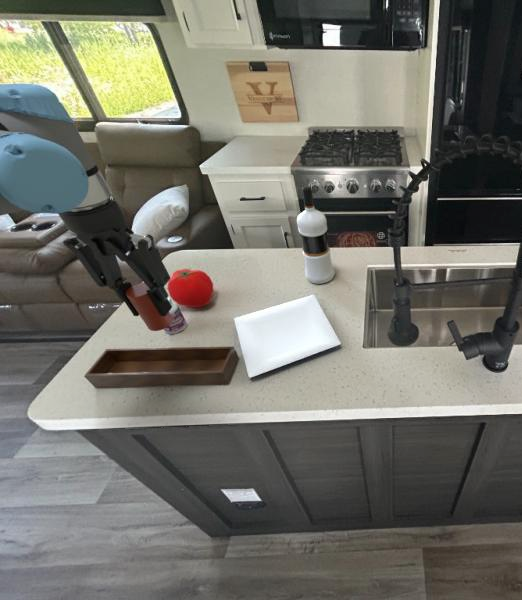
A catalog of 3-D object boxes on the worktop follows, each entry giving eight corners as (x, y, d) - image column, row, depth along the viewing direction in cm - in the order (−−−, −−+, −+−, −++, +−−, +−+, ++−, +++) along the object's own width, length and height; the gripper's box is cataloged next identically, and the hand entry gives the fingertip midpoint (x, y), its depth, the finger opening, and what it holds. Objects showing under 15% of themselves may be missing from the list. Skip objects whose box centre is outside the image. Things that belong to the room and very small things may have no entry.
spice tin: (150, 334, 66) (127, 300, 60) (145, 322, 69) (123, 288, 63) (175, 324, 68) (156, 290, 62) (170, 312, 71) (151, 279, 65)
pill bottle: (177, 336, 86) (161, 309, 80) (160, 332, 87) (143, 305, 81) (192, 322, 90) (177, 295, 84) (175, 319, 91) (160, 292, 85)
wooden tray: (95, 388, 73) (83, 376, 71) (116, 360, 79) (106, 348, 77) (228, 384, 75) (222, 372, 72) (239, 358, 81) (234, 346, 78)
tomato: (192, 319, 91) (176, 291, 84) (167, 302, 96) (151, 274, 89) (228, 298, 98) (216, 271, 91) (203, 283, 103) (190, 256, 97)
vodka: (320, 288, 103) (305, 197, 83) (300, 278, 107) (281, 188, 87) (340, 275, 109) (330, 186, 89) (320, 265, 113) (307, 178, 93)
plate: (314, 299, 99) (313, 293, 98) (341, 348, 84) (341, 343, 83) (235, 323, 90) (233, 317, 89) (251, 382, 76) (248, 377, 74)
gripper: (156, 193, 54) (205, 299, 70) (46, 191, 54) (120, 299, 69) (128, 213, 49) (189, 324, 64) (5, 211, 48) (96, 324, 63)
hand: (153, 311), depth 66 cm, fingers closed on spice tin, 5 cm apart
